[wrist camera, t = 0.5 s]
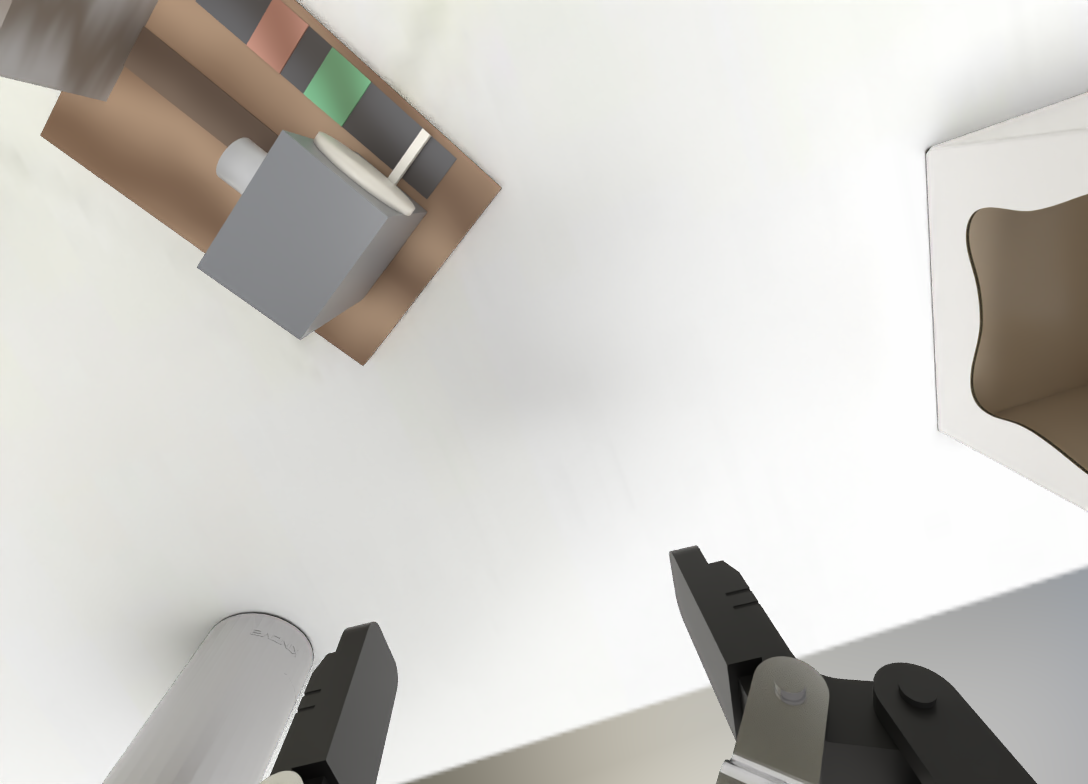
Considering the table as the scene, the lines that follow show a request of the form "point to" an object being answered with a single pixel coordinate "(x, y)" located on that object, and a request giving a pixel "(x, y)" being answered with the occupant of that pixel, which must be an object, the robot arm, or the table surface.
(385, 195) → the block
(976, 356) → the gable box
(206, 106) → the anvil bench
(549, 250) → the table surface
